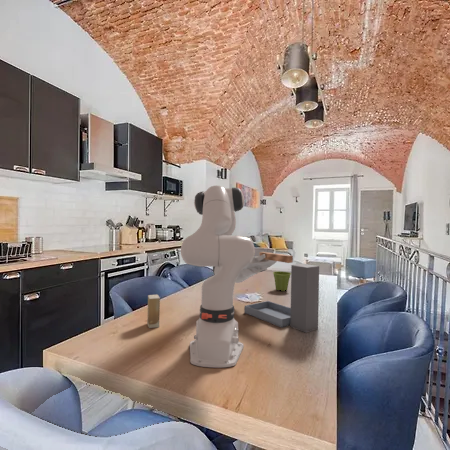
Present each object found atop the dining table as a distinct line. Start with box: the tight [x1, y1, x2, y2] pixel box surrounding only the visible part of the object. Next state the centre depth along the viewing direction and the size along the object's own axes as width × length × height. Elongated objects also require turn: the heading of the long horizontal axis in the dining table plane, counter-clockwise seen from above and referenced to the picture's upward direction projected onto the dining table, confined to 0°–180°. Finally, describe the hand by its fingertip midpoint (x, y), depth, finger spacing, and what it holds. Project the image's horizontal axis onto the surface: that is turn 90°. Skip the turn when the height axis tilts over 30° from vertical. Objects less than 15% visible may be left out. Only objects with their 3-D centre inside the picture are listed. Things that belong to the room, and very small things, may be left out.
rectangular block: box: [259, 251, 294, 264], centre depth 136 cm, size 18×3×3 cm, turn 37°
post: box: [289, 263, 320, 333], centre depth 122 cm, size 8×8×26 cm
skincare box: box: [146, 294, 161, 329], centre depth 122 cm, size 6×4×12 cm
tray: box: [243, 300, 291, 328], centre depth 136 cm, size 24×16×4 cm, turn 37°
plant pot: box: [272, 271, 291, 292], centre depth 190 cm, size 12×12×11 cm
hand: (268, 255), depth 139 cm, fingers closed on rectangular block, 3 cm apart
